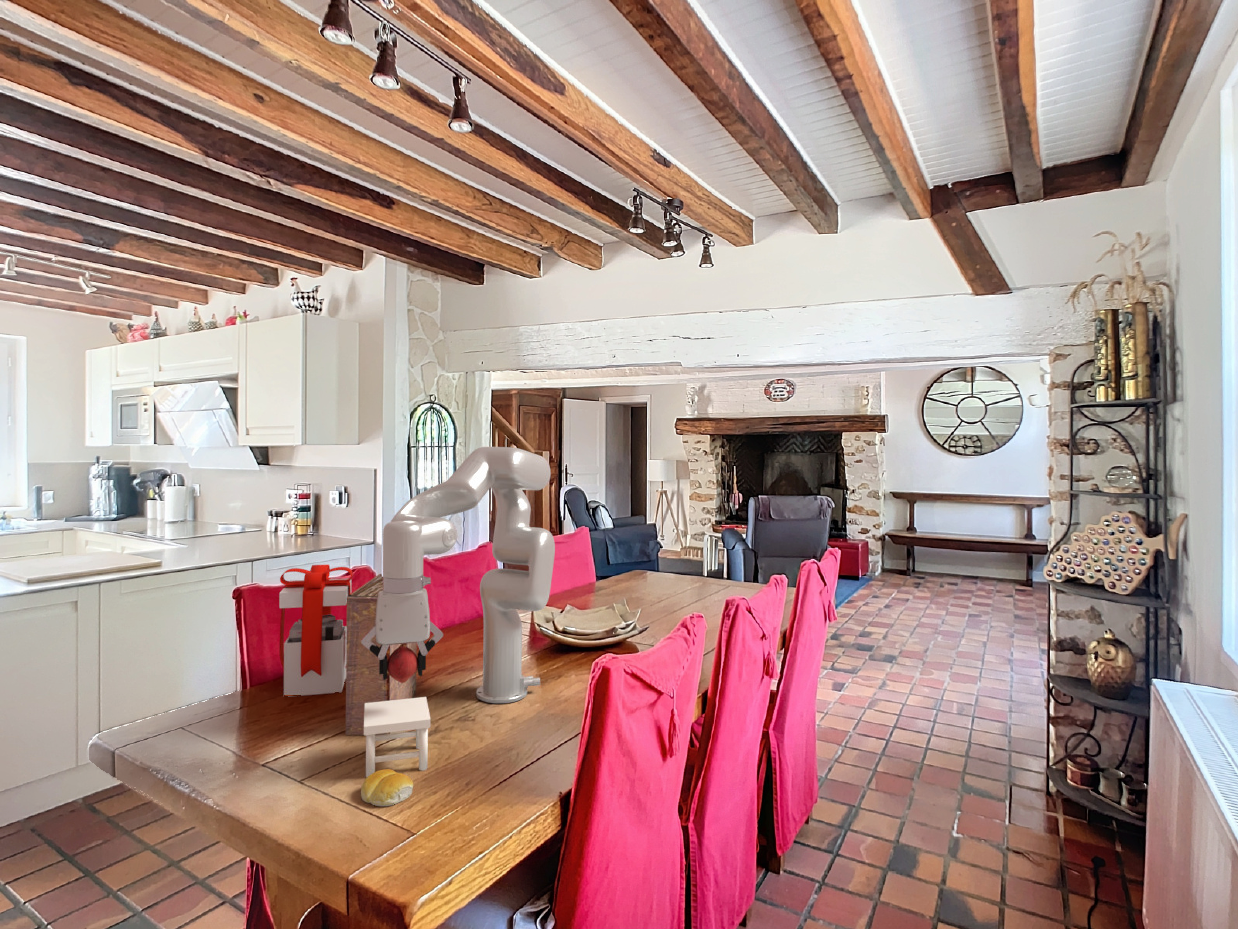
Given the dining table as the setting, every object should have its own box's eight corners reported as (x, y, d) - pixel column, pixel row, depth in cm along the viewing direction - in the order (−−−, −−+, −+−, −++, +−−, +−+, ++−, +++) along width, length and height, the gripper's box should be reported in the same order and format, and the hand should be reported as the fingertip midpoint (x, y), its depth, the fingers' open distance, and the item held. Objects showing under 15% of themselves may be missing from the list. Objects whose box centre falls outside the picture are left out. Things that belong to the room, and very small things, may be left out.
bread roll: (387, 779, 128) (387, 758, 128) (420, 793, 123) (420, 771, 123) (349, 798, 121) (349, 776, 121) (382, 813, 116) (383, 790, 116)
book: (379, 692, 171) (380, 573, 170) (416, 692, 172) (417, 573, 171) (345, 736, 146) (346, 596, 145) (389, 735, 146) (390, 597, 145)
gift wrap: (273, 700, 164) (273, 576, 163) (286, 676, 181) (286, 564, 180) (349, 694, 169) (350, 574, 168) (355, 671, 185) (356, 562, 184)
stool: (425, 744, 143) (426, 696, 142) (429, 770, 131) (430, 719, 131) (364, 751, 138) (364, 703, 138) (363, 779, 127) (363, 727, 127)
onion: (401, 690, 130) (401, 649, 130) (380, 684, 133) (380, 644, 133) (424, 681, 135) (424, 641, 135) (404, 675, 138) (404, 636, 138)
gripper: (446, 578, 140) (445, 665, 141) (355, 583, 134) (355, 674, 134) (450, 586, 133) (449, 677, 134) (355, 591, 127) (355, 687, 127)
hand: (402, 674), depth 134 cm, fingers closed on onion, 5 cm apart
